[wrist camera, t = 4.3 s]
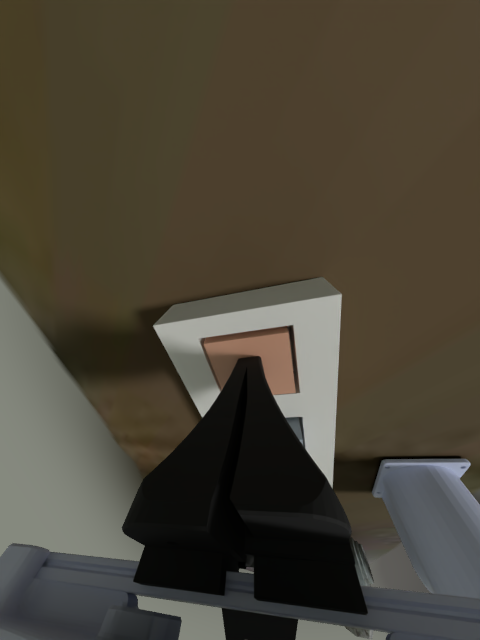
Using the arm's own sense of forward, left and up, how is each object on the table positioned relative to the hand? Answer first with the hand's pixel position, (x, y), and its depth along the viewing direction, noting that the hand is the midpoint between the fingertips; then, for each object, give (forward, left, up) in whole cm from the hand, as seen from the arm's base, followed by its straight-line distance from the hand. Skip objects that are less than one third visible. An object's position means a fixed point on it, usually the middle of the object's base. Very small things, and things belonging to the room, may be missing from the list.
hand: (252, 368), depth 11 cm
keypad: (-8, 0, -3) cm, 9 cm away
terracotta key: (0, 0, -2) cm, 2 cm away
